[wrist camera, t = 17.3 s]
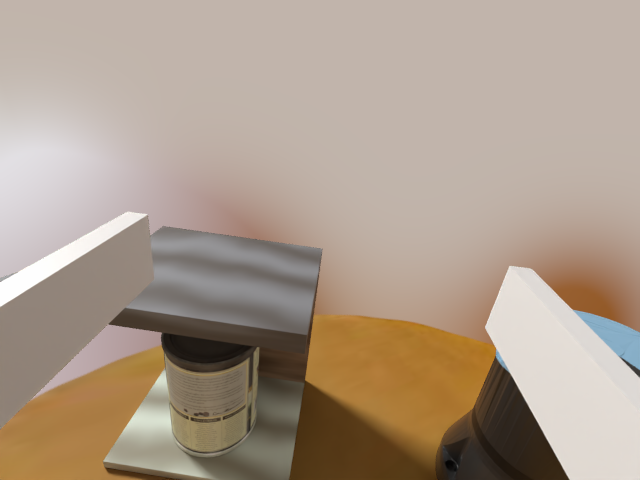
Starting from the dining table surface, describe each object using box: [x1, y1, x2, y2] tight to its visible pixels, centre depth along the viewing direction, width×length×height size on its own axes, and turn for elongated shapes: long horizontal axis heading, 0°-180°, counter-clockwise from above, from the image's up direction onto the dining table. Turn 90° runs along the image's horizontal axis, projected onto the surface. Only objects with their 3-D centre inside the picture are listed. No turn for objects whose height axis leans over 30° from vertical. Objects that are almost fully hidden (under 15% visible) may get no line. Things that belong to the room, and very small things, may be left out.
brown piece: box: [103, 226, 322, 480], centre depth 39 cm, size 16×20×22 cm
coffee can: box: [161, 333, 259, 458], centre depth 40 cm, size 10×10×14 cm
